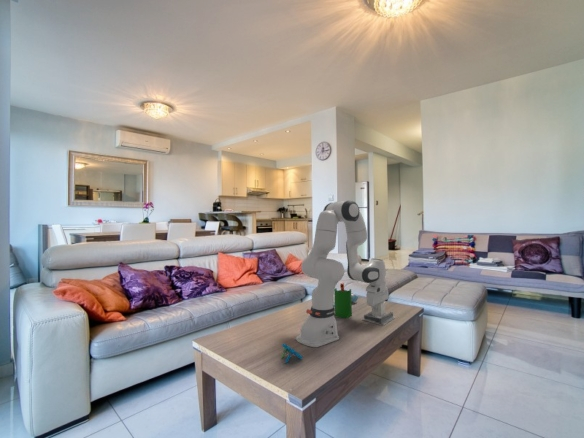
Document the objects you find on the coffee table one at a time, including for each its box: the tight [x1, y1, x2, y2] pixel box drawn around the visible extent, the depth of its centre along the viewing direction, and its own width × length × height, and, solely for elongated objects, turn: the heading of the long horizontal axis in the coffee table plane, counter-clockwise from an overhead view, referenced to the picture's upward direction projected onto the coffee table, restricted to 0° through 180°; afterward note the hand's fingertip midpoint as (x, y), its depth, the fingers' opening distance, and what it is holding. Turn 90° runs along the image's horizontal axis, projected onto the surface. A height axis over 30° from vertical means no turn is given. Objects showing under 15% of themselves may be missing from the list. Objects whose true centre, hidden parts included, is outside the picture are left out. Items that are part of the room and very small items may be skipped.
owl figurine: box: [334, 289, 360, 307], centre depth 195 cm, size 28×9×15 cm
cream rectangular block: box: [371, 301, 387, 317], centre depth 160 cm, size 5×6×7 cm
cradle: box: [361, 310, 396, 326], centre depth 160 cm, size 15×13×3 cm
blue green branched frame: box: [280, 343, 304, 364], centre depth 115 cm, size 11×6×10 cm
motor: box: [334, 282, 353, 319], centre depth 168 cm, size 10×9×20 cm
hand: (378, 310), depth 160 cm, fingers closed on cream rectangular block, 5 cm apart
